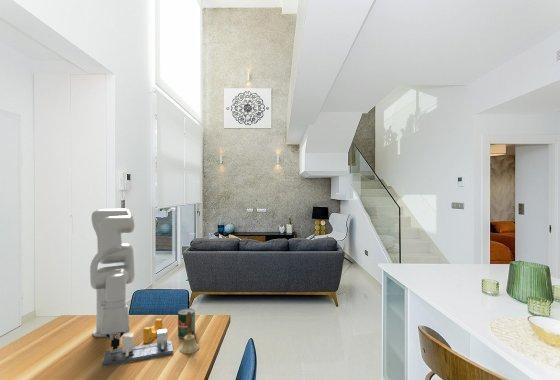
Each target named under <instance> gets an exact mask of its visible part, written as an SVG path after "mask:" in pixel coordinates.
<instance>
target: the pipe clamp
mask: <svg viewBox="0 0 560 380" xmlns="http://www.w3.org/2000/svg"><path fill="white" fill-rule="evenodd" d="M161 329H163V318H156V319H155V322H154V325H152V326H145V327H144V328H143V330H142V331H143V338H142V339H143V341H142V342H143V343H144V344H151V342H152V341H153V340H154V339H155V338H156V339H157V330H161Z"/></svg>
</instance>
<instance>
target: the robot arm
mask: <svg viewBox="0 0 560 380" xmlns="http://www.w3.org/2000/svg"><path fill="white" fill-rule="evenodd" d="M91 223H92V227H93V229H94V232H95V235H96V238H97V239H96V241H97V253H96V254H95V255H94V256H93V258H92V260H91V262H90V266H89V269H90V270H89V274H90V278H89V281H90V286H91V288H92V289H93V290H95V291H96V322H95V323H96V328H95V329H94V330H93V331H92V336H94V338H95V337H96V338H105V337H106V338H108V339H109V340H110V347H111V348H112V350H118V347H120V345H121V344H120V339H121V338H122V337H123V334H129V333H130V331H131V329H130V313H129V312H130V311H129V306H128V304H127V303H126V302H127V297H126V296H127V294H126V293H127V285H128V284H131V283H134V280H135V275H136V274H135V257H134V249H133V246H132V245H131V244H130V243H126V242H125V243H123V242H122V234H129V233H130V234H131V233H133V232H134V230H135V220H134V217H133V215H132V213H131V210H130V209H127V208H102V209H97V210H94V211H92V213H91ZM121 263H122V264H121ZM99 264H101V265H108V264H109V265H111V264H121V265H111V266H103V267H100V268H98V266H99ZM115 335H116V336H115Z"/></svg>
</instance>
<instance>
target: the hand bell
mask: <svg viewBox="0 0 560 380" xmlns="http://www.w3.org/2000/svg"><path fill="white" fill-rule="evenodd" d="M186 324H187V335H186V336H185V337H184V338H183V343H182V344H181V346H180V348H179V350H178V351H179V352H180V353H181V354H184V355H187V354H189V355H190V354H194V353H196V352H198V351H199V349H200V345H199V344H197V341H196V338H195V337H196V336H195V335H192V334H191V324H192V315H191V312H187V316H186Z"/></svg>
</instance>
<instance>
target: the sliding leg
mask: <svg viewBox="0 0 560 380" xmlns="http://www.w3.org/2000/svg"><path fill="white" fill-rule="evenodd" d="M134 335H135V334H134V332H128V333H125V334H123V335H122V337H121V339H122V340H121V341H122V342H121V343H122V346H121V347H122V348H121V349H122V353H125V352H126V357H127V356H128V355H129V352H131V351H133V347H134Z"/></svg>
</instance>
